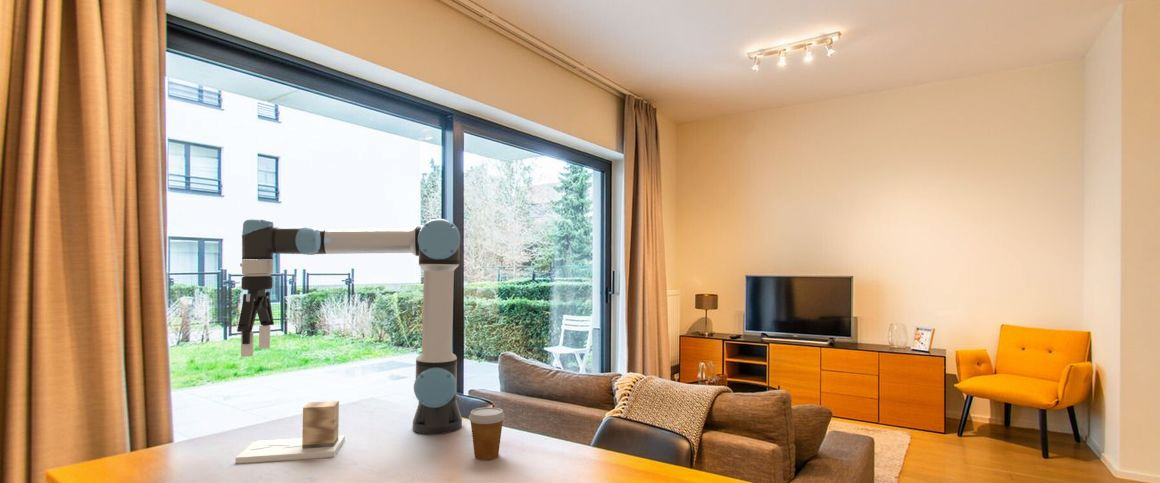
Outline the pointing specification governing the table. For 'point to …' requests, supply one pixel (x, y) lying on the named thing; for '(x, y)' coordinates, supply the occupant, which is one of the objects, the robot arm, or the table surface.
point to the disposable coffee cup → (486, 432)
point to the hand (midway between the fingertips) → (256, 352)
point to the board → (285, 450)
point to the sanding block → (320, 424)
